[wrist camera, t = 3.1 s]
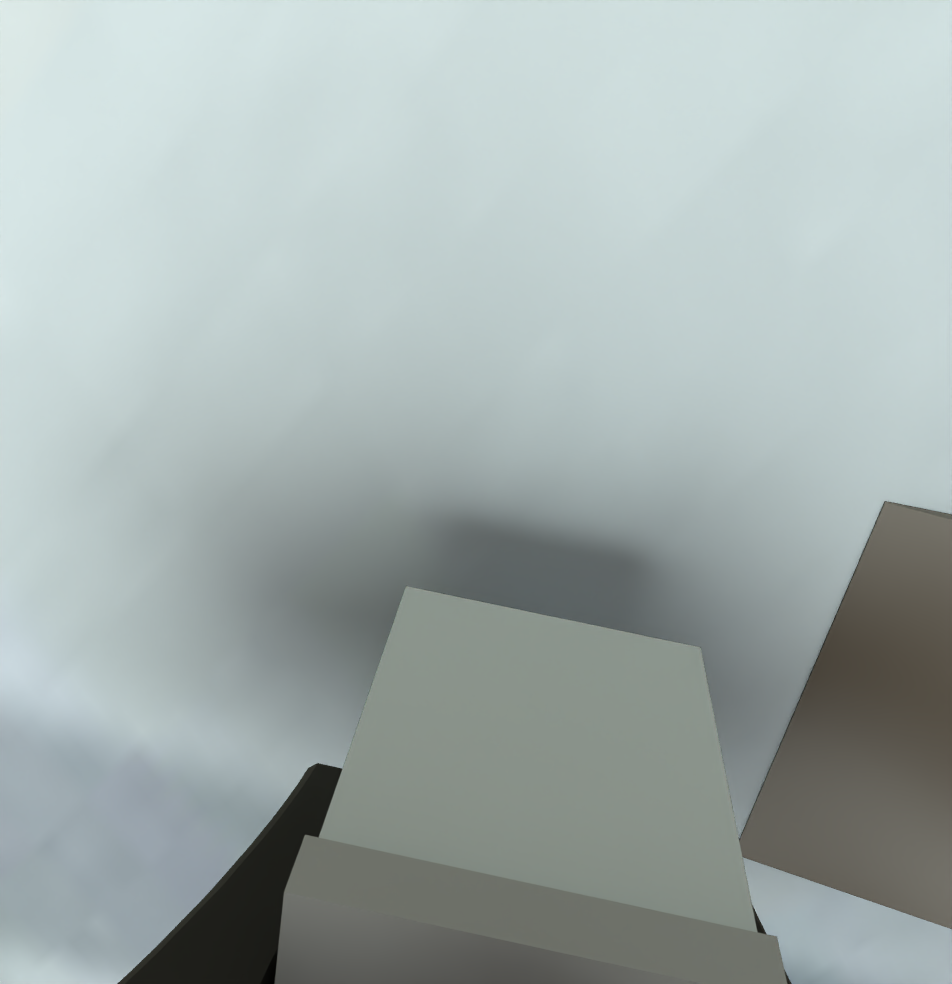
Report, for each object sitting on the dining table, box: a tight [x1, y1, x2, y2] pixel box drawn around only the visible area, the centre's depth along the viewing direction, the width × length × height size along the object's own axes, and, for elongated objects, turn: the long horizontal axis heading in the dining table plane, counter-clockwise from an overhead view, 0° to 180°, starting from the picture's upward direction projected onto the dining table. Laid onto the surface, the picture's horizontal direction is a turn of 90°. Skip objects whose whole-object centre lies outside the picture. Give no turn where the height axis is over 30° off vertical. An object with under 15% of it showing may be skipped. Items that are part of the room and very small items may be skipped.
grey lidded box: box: [275, 586, 787, 984], centre depth 11 cm, size 6×4×5 cm
